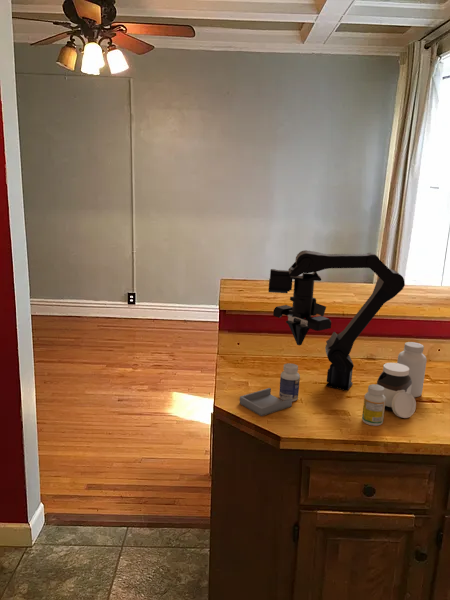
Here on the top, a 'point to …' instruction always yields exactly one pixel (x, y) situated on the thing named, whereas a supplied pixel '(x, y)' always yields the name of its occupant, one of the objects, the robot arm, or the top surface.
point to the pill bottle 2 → (414, 365)
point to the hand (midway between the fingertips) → (299, 345)
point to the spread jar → (397, 389)
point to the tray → (264, 402)
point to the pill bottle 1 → (289, 382)
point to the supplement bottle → (374, 405)
